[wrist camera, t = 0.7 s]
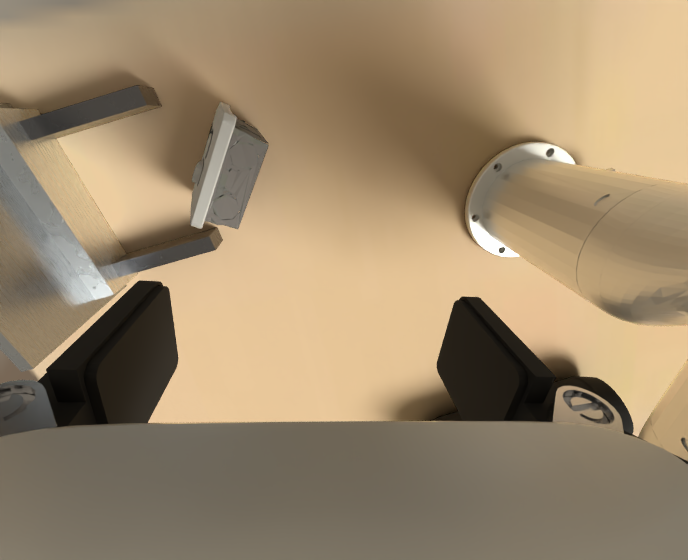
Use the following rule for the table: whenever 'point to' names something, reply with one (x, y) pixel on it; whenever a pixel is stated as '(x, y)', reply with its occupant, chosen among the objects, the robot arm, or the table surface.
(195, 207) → the electrical switch
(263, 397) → the table surface
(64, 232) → the rail mount
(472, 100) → the table surface
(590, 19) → the table surface
